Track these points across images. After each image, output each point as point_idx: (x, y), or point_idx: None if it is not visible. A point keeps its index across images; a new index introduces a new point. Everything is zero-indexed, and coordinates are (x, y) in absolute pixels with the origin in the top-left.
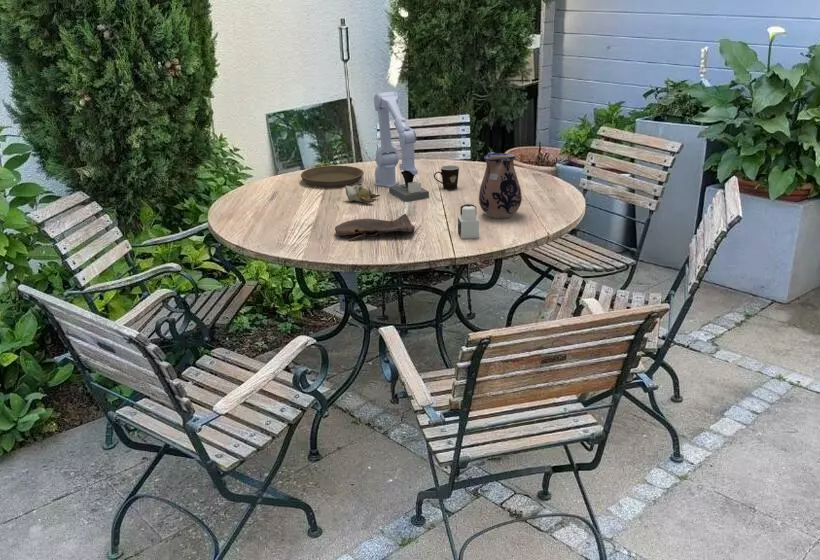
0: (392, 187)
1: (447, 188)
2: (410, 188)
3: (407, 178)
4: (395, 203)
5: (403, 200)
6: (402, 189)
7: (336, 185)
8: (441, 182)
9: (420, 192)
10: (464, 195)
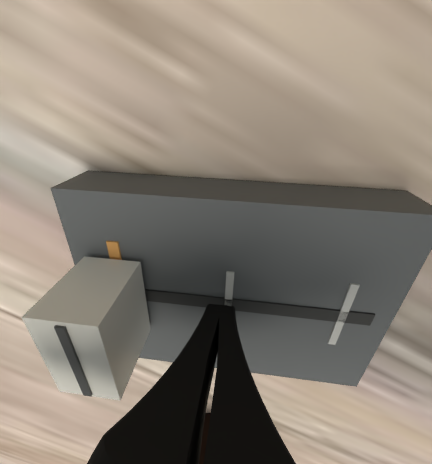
0: (386, 231)
1: None
2: (72, 283)
3: (157, 391)
4: (72, 70)
5: (119, 173)
6: (248, 264)
7: None
8: None
9: None
10: (99, 408)
